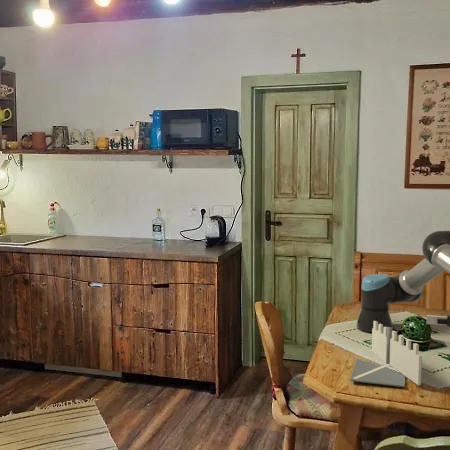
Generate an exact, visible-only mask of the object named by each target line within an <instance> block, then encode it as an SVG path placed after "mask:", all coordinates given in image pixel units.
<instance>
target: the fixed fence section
mask: <svg viewBox="0 0 450 450" xmlns="http://www.w3.org/2000/svg"><path fill="white" fill-rule="evenodd" d="M392 331H394V328H393V326H392V327H384V329H383V325H382V324H378V322H377V321H374V322H373V328H372V332H371V352H372V351H373V352H374V353H373V352H372V353H373V354H375V355H376V354H377V355H378V356H379V357H378V356H377V355H376V356H377V357H378V358H379V359H381V358H382V359H383V360H384V361H385V362H384V361H383V360H382V359H381V360H382V361H383V362H384V363H385V364H390V339H392Z"/></svg>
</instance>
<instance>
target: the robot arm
mask: <svg viewBox="0 0 450 450" xmlns="http://www.w3.org/2000/svg"><path fill="white" fill-rule="evenodd" d="M421 248H422V249H421V251H422V254H423V256H424V258H423V259H422V260H421V261H419V262H418V263H417V264H416V265H415V266H413V267H412V268H411V269H406V270H403V271H402V272H400V273H399V274H397V276H390V275H389V274H386V273H372V274H369V275H366V276H364V277H363V278H362V281H361V309H360V313H359V315H358V319H357V321H356V328H357V329H359V330H361V331H364V332H367V333H368V332H370V333H372V328H373V322H374V321H377V322H378V324H382V325H383V329H384V327H392V328H393V322H392V317H391V315H390V314H391V313H390V311H389V310H390V307H389V306H390V304H400V303H412V302H416V301H418V300H420V298H421V297H422V296H423V292H424V290H425V289H424V288H425V287H424V286H426V285H427V284H428V283H430V282H431V281H432V280H434V279H435V278H436V277H438V276H439V275H441V274H442V273H443V272H444V271H445V272H447V273H448V274H450V230H438V231H434V232H432V233H430V234H428V235H427V236H426V237H425V238H424V240H423V242H422V247H421ZM426 325H437V326H447V327H450V314H448V315H447V316H444V315H432V314H426Z"/></svg>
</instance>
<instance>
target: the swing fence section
mask: <svg viewBox="0 0 450 450" xmlns="http://www.w3.org/2000/svg"><path fill="white" fill-rule="evenodd" d="M398 336H399V342H398V341H397V338H398ZM404 340H405V341H406V345H404ZM419 347H420V346H419V344H418V343H417V342H416V343H414V342H413V343H412V340H411V339H410V338H405V336H404V335H402V334H398V332H397V331H396V330H393V331H392V339H390V366H391V367H393V368H395V369H396V370H397V371H399V372H400V373H402V374H403V375H404V376H405V378H407V379H409V380H410V381H412V382H413V383H414V384H416V385H417V386H422V363H423V362H422V361H423V359H422V358H423V356H422V355H421V354H419V351H420V349H419Z"/></svg>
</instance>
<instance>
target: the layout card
mask: <svg viewBox="0 0 450 450" xmlns="http://www.w3.org/2000/svg"><path fill="white" fill-rule="evenodd" d="M358 359H359V360H358ZM362 360H363V359H362V358H361V359H360V358H356V361H355V363H354V366H353V370H352V373H351V375H350V379H349V380H350V382H357V383H364V384H365V383H367V384H375V385H384V386H389V387H390V386H391V387H392V386H393V387H400V388H405V387H406V376H404V375H403V374H402V373H400V372H397V371H395V370H392V369H389V368H387V367H386V366H385V365H384V364H382V365H383V366H381V365H379V364H380V363H378V364H376V363H377V362H374V364H373V363H370V362H371V361H369V362H365V361H366V360H365V361H362Z"/></svg>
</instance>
